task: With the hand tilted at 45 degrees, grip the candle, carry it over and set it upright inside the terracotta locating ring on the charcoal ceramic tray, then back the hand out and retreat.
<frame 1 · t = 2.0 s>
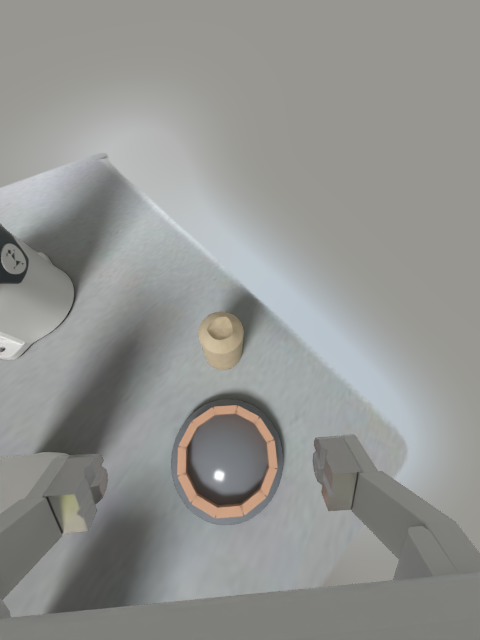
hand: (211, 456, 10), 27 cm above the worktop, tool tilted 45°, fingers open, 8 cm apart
bottle: (50, 486, 33), on the worktop
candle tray: (227, 456, 34), on the worktop
candle: (223, 352, 40), on the worktop
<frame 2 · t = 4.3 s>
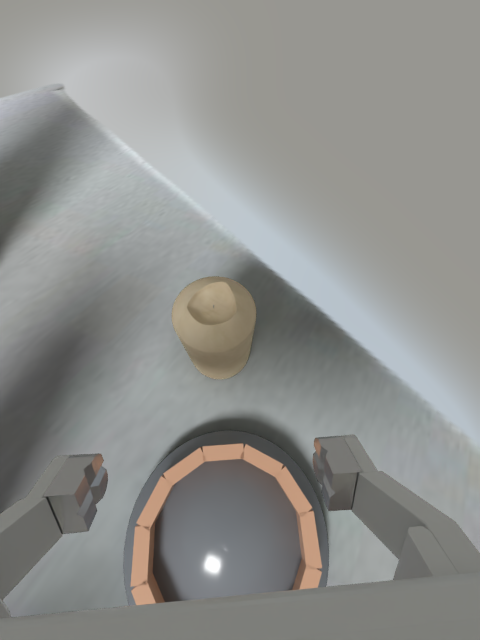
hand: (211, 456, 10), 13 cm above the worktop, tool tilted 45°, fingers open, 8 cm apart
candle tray: (227, 534, 19), on the worktop
candle: (220, 351, 25), on the worktop
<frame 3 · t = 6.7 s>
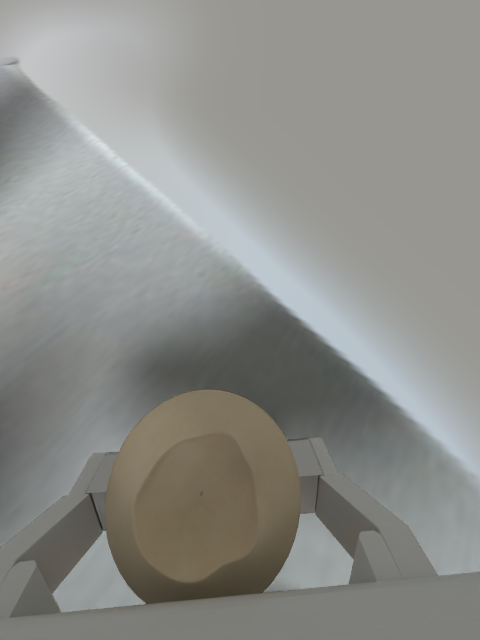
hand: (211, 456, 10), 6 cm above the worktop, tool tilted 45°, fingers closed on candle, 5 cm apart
candle: (219, 461, 15), on the worktop, touching gripper
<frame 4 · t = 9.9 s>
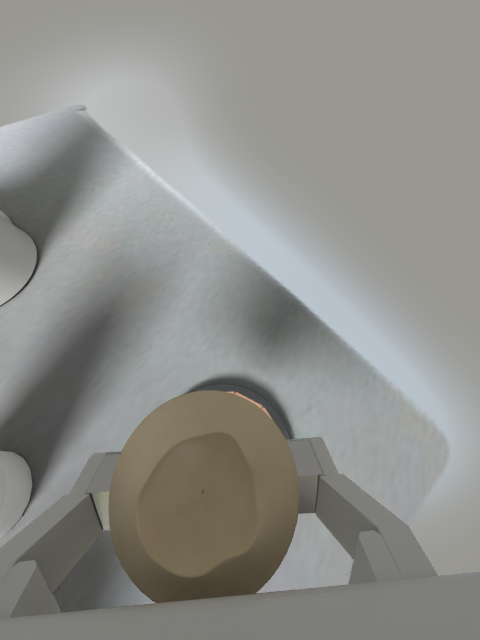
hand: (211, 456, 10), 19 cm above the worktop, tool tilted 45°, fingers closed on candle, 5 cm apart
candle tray: (222, 456, 27), on the worktop
candle: (219, 460, 16), point 12 cm above the worktop, touching gripper
when the fingers open (9 cm above the worktop, at t = 12.8 s): candle drops 2 cm, resting on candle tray.
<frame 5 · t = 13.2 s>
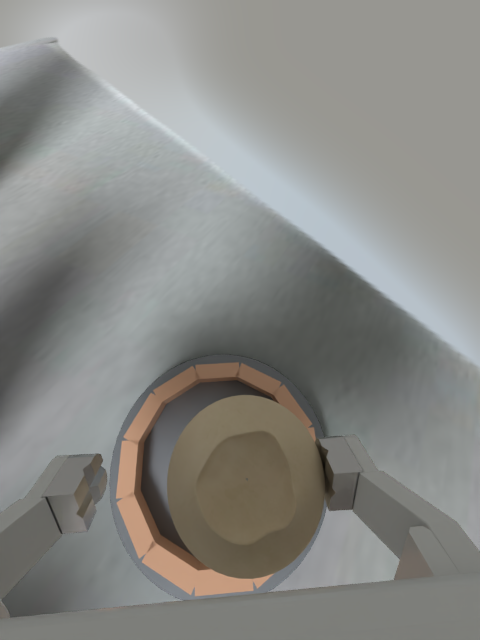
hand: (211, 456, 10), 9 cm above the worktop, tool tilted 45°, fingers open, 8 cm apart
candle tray: (221, 458, 18), on the worktop
candle: (242, 457, 17), point 1 cm above the worktop, touching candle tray, gripper
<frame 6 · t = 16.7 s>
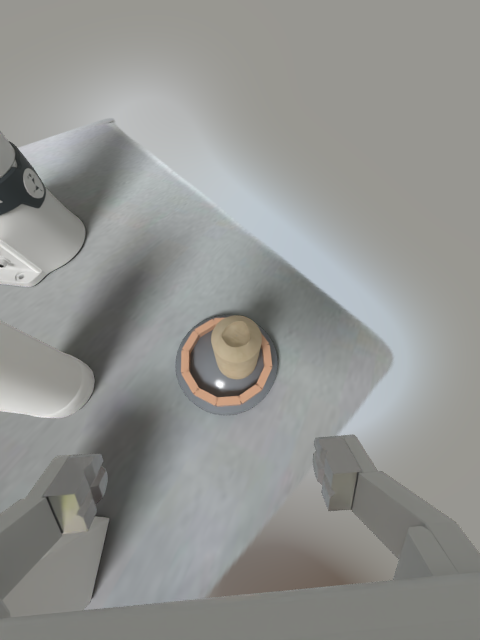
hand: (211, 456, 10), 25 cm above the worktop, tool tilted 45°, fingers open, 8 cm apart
bottle: (66, 388, 36), on the worktop
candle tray: (227, 363, 37), on the worktop
candle: (236, 360, 36), point 1 cm above the worktop, touching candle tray
milk carton: (70, 553, 29), on the worktop
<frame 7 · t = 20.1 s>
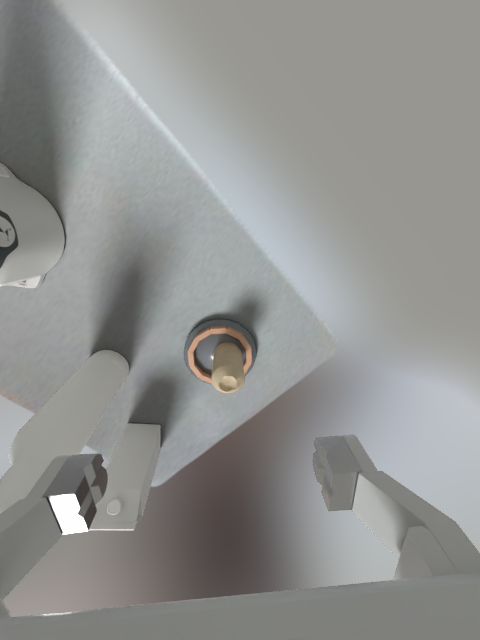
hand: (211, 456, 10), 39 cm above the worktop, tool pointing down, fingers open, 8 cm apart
bottle: (109, 366, 52), on the worktop
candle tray: (220, 351, 52), on the worktop
candle: (227, 353, 51), point 1 cm above the worktop, touching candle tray
milk carton: (144, 435, 59), on the worktop
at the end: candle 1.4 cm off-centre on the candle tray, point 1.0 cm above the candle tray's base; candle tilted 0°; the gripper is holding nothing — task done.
